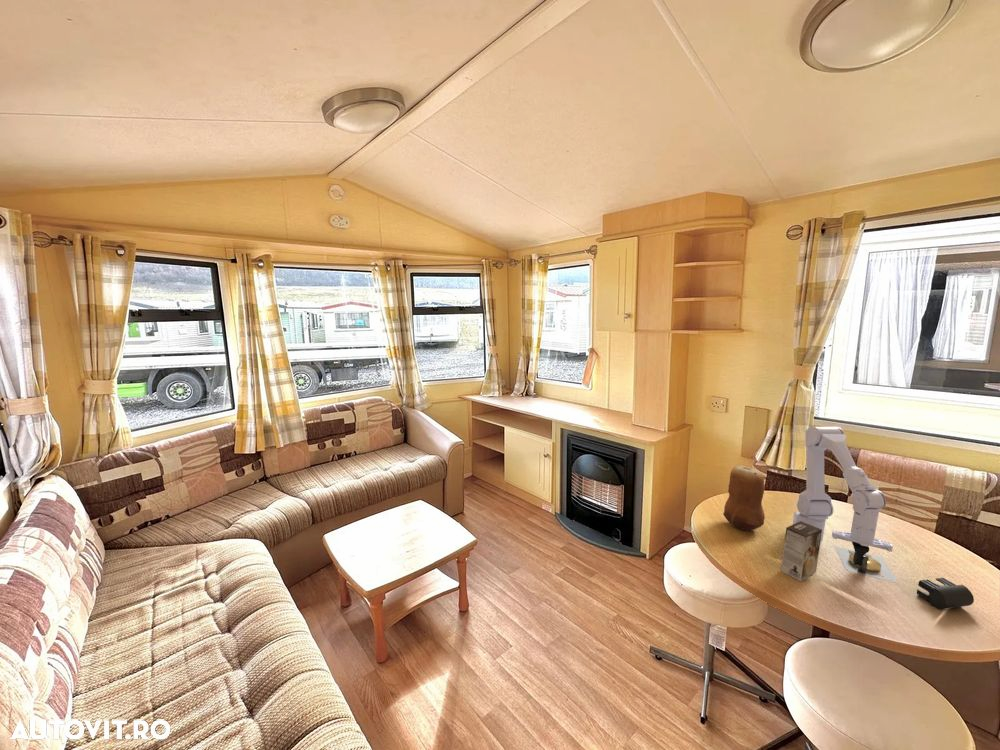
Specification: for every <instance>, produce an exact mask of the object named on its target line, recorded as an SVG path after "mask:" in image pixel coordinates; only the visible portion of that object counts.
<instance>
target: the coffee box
mask: <svg viewBox="0 0 1000 750" xmlns="http://www.w3.org/2000/svg"><path fill="white" fill-rule="evenodd" d="M821 533H822V529H819V528H817V527H814V526H812V525H810V524H807V523H804V522H802V521H800V522H798V523H795V524H793V523H792V524H790V525H789V526H787V527H786V529H785V537H784V544H783V552H782V558H781V559H782V560H781V568H780V571H781V572H782V573H784V574H785V575H787V576H789V577H792V578H793V579H795V580H797V581H799V582H803V581H805V580H807V579H808V578H810V577H811V576H812V574H814V573H816V572H817V569H818V560H819V554H820V547H821V546H820V545H821V541H822V540H821Z"/></svg>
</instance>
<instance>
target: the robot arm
mask: <svg viewBox="0 0 1000 750" xmlns="http://www.w3.org/2000/svg"><path fill="white" fill-rule="evenodd" d="M804 432H805V433H804V434H805V439H804V440H805V443H804V444H805V447H806V448H805V450H806V451H805V452H806V453H805V456H806V457H805V459H806V460H805V461H806V463H805V464H806V465H805V466H806V469H805V470H806V471H805V472H806V473H805V474H806V477H805V478H806V482H805V483H806V484H805V485H806V489H805V490H804V491H802V492H800V493H799V494H798V500H797V501H796V507H797V508H796V509H797V511H796V512H794V514H793V519H792V525H793V524H795V523H798V522H800V521H802V522H804V523H807V524H810V525H812V526H814V527H817V528H819V529H822V533H821V541H823V540H824V535H825V529H826V520H828V519H829V517H831V516H832V515H833V514H834V506H833V502H832V497H831V496H829V494H827V493H826V492H825V488H826V486H825V451H826V450H829V451H831V453H832V454H833V455H834V457H835V459H836V460H837V462H839V464H840V466H841V467H842V468H843V472H842V477H843V478H844V480H845V482H846V483H847V485H848V487H849V489H850V490H851V492H852V494H850V495H851V496H850V499H851V502H852V509H853V517H852V522H851V529H850V532H845V531H837V530H832V533H831V537H832V539H834V540H837V539H838V540H843V541H845V542H851V544H852V547H853V549H854V550H853V551H855V553H854V557H853V562H854V564H855V565H859V566H861V562H862V557H863V556H864V555H865V554H868V553H869V552H870V547H873V548H877V549H881V550H886V551H887V552H890V553H892V552H893V547H894V546H893V545H892V543H890V542H887V541H883V540H879V539H877V538H875V536H876V531H877V526H878V519H879V513H880V509H881V510H882V509H884V508H885V507H886V506H887V499H886V496H885V494H884V492H882V491H880V490H878V489H877V487H874V485H873V484H872V482H871V480H870V479H869V478H868V476H867V473H866V472H865V470H864V469H862V468H861V467H858V466H857V465H856V463H855V461H854V459H853V457H852V454H851V452H850V450H849V448H848V447H847V444H846V442H847V438H848V437H847V435H846V434H845V431H844V429H843V428H841V427H840V426H835V425H834V426H815V425H814V426H809V427H808V428H807V429H805V431H804Z"/></svg>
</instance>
